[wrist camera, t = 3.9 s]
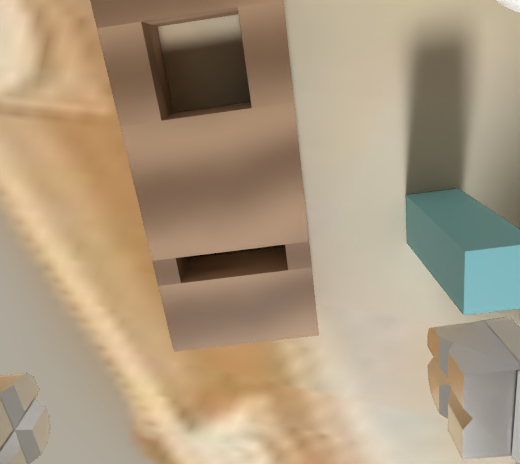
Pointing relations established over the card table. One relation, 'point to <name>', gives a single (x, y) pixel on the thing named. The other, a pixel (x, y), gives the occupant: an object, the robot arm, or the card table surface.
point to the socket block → (215, 177)
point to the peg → (466, 249)
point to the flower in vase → (511, 4)
